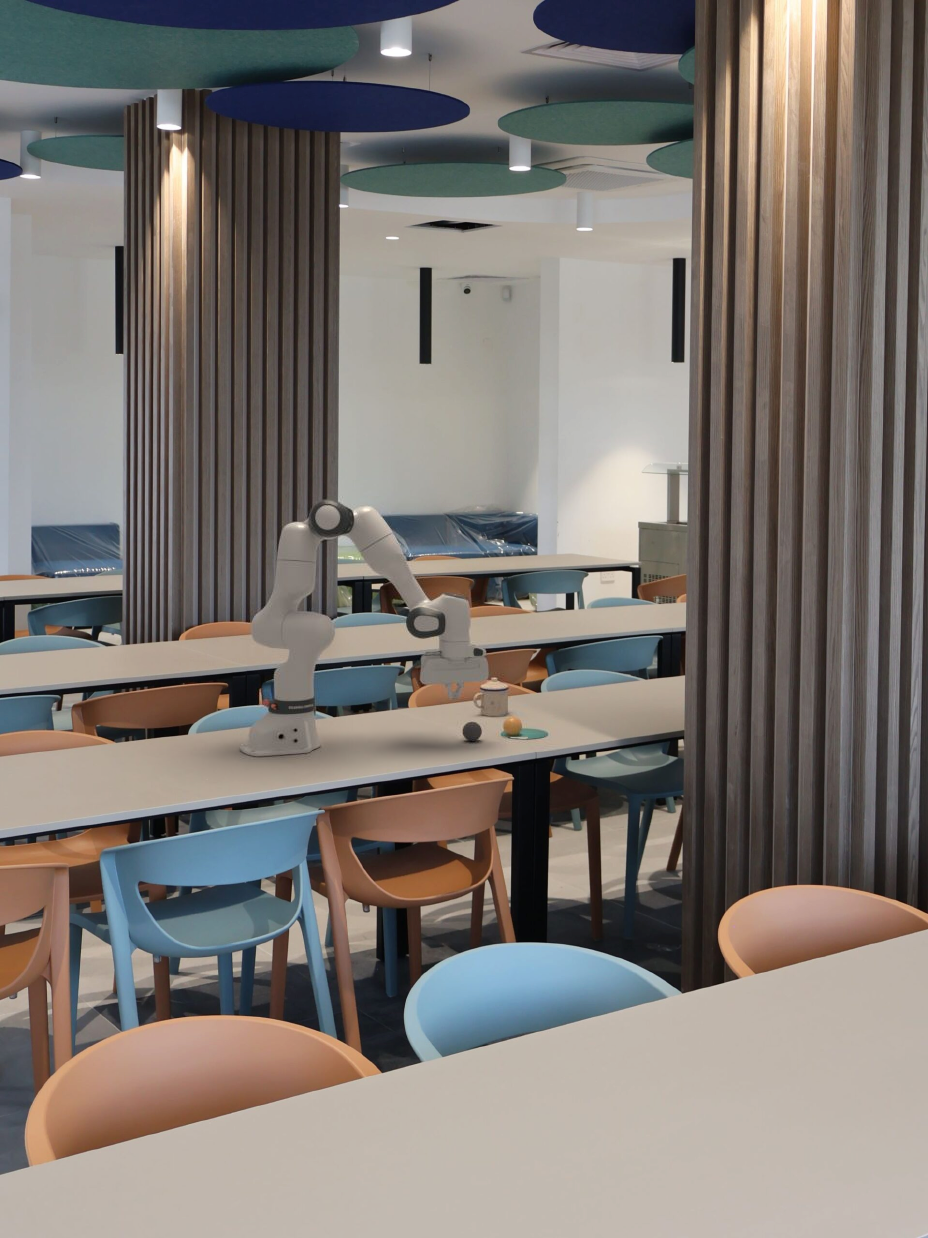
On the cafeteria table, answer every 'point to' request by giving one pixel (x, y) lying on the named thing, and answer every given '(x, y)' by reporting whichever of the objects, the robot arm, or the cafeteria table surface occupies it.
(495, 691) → the teacup with lid
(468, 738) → the dark grey ball
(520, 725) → the object ball
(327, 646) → the robot arm
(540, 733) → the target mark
